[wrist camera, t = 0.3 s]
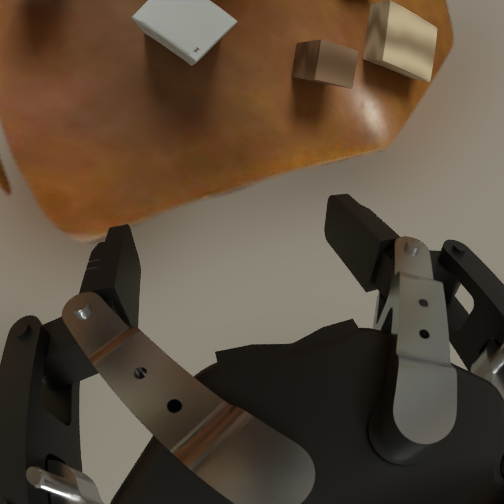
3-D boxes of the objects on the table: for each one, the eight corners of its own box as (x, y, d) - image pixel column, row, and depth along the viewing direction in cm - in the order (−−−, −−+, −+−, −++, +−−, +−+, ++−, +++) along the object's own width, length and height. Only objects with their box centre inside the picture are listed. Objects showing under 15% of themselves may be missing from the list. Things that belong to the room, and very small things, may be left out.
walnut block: (296, 43, 30) (321, 39, 24) (330, 51, 31) (358, 51, 26) (291, 77, 33) (314, 79, 27) (324, 83, 34) (352, 88, 29)
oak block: (369, 3, 27) (390, 0, 23) (416, 27, 30) (437, 28, 26) (361, 59, 33) (382, 60, 29) (408, 77, 35) (429, 82, 32)
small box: (222, 35, 28) (241, 22, 19) (191, 67, 29) (197, 63, 21) (174, 0, 23) (175, -26, 15) (142, 32, 25) (130, 17, 17)
